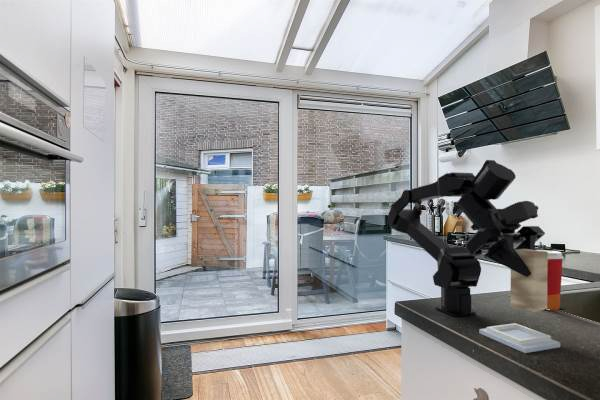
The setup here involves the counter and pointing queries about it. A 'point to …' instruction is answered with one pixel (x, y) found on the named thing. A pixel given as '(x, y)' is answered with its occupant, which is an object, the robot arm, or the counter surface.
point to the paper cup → (554, 279)
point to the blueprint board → (520, 337)
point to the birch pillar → (530, 282)
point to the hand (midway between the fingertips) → (536, 274)
